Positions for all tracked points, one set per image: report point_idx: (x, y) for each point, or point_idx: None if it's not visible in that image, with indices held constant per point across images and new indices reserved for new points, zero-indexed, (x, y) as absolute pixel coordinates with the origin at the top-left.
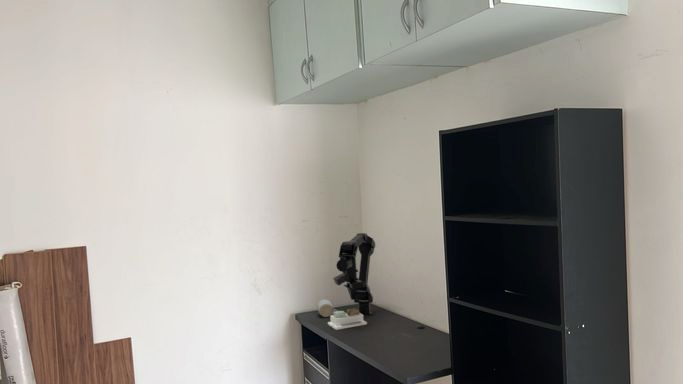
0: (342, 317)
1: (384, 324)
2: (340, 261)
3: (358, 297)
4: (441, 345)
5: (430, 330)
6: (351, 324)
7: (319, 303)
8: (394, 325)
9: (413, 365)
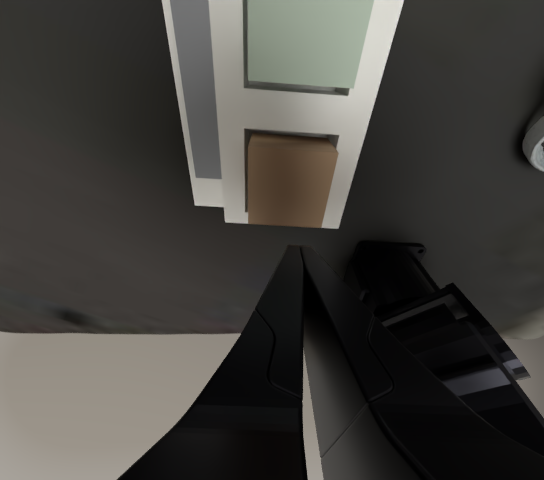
0: (240, 23)
1: (160, 256)
2: None
3: (416, 329)
4: None
5: (29, 321)
6: (184, 91)
7: None
8: (128, 276)
9: None
